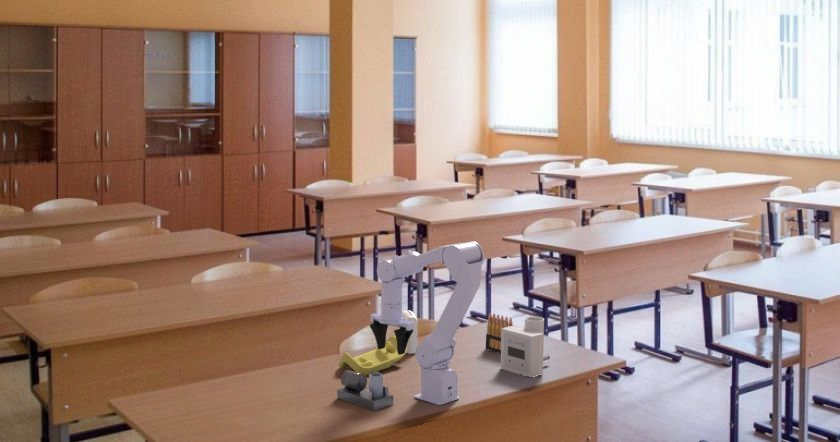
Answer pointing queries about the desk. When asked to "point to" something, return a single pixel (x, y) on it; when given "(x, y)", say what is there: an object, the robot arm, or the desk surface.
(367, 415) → the desk surface
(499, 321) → the ammunition clip
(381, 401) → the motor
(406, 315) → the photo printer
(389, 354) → the plastic component
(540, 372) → the thermostat
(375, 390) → the grey capped cylinder
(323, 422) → the desk surface
